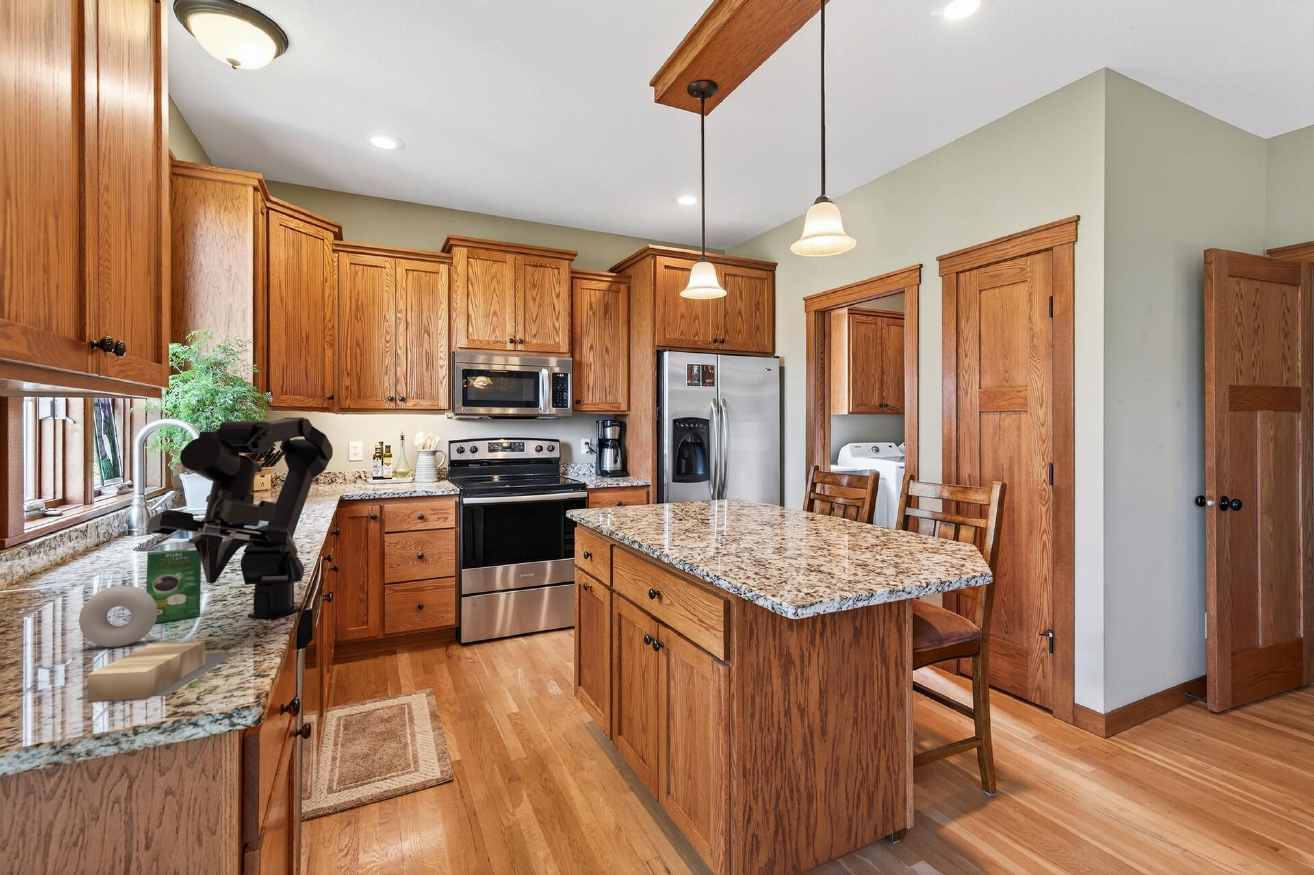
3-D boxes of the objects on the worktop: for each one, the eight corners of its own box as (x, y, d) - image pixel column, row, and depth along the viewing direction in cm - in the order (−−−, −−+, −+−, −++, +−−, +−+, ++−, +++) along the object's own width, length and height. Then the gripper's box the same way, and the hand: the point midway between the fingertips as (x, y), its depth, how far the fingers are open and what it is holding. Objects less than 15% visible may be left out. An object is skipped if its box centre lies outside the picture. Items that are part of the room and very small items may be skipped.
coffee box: (200, 613, 117) (199, 546, 117) (202, 616, 115) (201, 547, 115) (145, 622, 112) (145, 551, 112) (146, 626, 110) (146, 553, 110)
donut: (161, 639, 102) (160, 580, 102) (153, 645, 99) (153, 584, 99) (84, 647, 98) (84, 586, 98) (74, 654, 95) (74, 591, 95)
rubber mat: (163, 656, 94) (163, 655, 94) (238, 653, 96) (238, 652, 96) (76, 700, 79) (76, 699, 79) (167, 696, 80) (167, 695, 80)
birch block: (154, 642, 90) (87, 674, 78) (205, 640, 91) (146, 671, 79) (154, 666, 90) (87, 701, 78) (205, 664, 91) (146, 698, 79)
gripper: (187, 466, 92) (161, 570, 86) (312, 492, 106) (296, 582, 100) (158, 481, 98) (132, 579, 92) (280, 503, 112) (264, 590, 106)
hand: (211, 583), depth 97 cm, fingers closed
